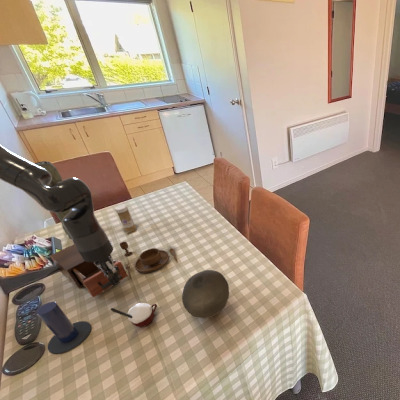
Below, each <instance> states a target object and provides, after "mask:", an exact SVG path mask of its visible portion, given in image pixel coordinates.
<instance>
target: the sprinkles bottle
mask: <svg viewBox="0 0 400 400" xmlns="http://www.w3.org/2000/svg"><path fill="white" fill-rule="evenodd" d="M114 211H115V213H116V214H117V217H118V219H119V221H120V223H121V225H122V227H123V229H124V231H125V232H127V234H133V233H135V232H137V227H136V224H135V221H134V220H133V217H132V215H131V213H130V211H129V207H128V205H127V204H119V205H117V206H116V207H114Z"/></svg>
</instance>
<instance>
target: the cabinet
mask: <svg viewBox="0 0 400 400" xmlns="http://www.w3.org/2000/svg"><path fill="white" fill-rule="evenodd" d="M49 257H50V258H51V260H52V261H53V263H54V264H55V265H56V267H57V269H58V270H59V272H61V274H62V275H63V276H64V277H65V278H67V280H69V281H70V282H71V283H72V284H73V285H75V287H76V288H77V289H79V290H80V289H81V288H83V287H85V286H84V285H83V284H81V283H80V282H79V281H78V280H77V278H76V277H75V275H74V274H73V272H72V271H71V270H73V269H75V268H76V267H78V266H80V265H82V264H84V263H86V261H84V259H83V258H82V256H81V255H80V253H79V251H78V250H77V248H76V246H75V245H74V243H73V244H71V245H69V246H68V247H65V248H62V249H61V250H59V251H56V252H54V253H53V254H50V255H49ZM109 257H112V255H111V254H110V255H109Z"/></svg>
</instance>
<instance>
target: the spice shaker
mask: <svg viewBox="0 0 400 400" xmlns="http://www.w3.org/2000/svg"><path fill="white" fill-rule="evenodd" d="M35 314H36V315H37V316H38V317H39V319H40V320H41V322H43V324H45V326H46V327H47V328H48V329H49V330H50V331H51V333H52V334H53V336H54V335H55V336H56V337H57V338H58V340H59V341H60V342H61V343H68V342H70V341H72V340H73V339H75V338H76V337H77V335H78V330H77V329H76V328H75V326H74V325H73V324H72V323H73V322H72V321H71V320H70V319H69V317H68V316H67V315H66V313H65V312H64V311H63V310H62V308H61V306H60V305H59V304H58V303H57V302H56V301H49V302H45V303H44V304H42V305H41V306H39V307H38V308H37V310H35Z"/></svg>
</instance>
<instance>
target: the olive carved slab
mask: <svg viewBox="0 0 400 400" xmlns="http://www.w3.org/2000/svg"><path fill="white" fill-rule="evenodd" d="M33 164H35V165H37V166H39V167H41V168H43V169H45V170H47V171H48V172H49V173H50V174H51V175H52V180H51V182H50V184H49V185H48V186H47V187H50V186H52V185H54V184H56V183H58V182H60V181H62V180H63V177H62V176H61V174H60V172H59V170H58V168H57V166H55V165H54V164H53V163H52V162H51V161H47V160H43V161H37V162H35V163H34V162H33ZM70 210H71V208H70V209H69V210H67V211H65V212H61V213H55V215H56V217H57V218H58V220H59V222H60V224H61V227H62V229H63V231H64V232H65V234H66V235H67V236H68V238H69V239H70V240H72V238H71V236H70V234H69V233H68V231H67V230H66V228H65V226H64V225H63V218H64V217H65V216H66V215H67V214H68V213H69V211H70Z"/></svg>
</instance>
